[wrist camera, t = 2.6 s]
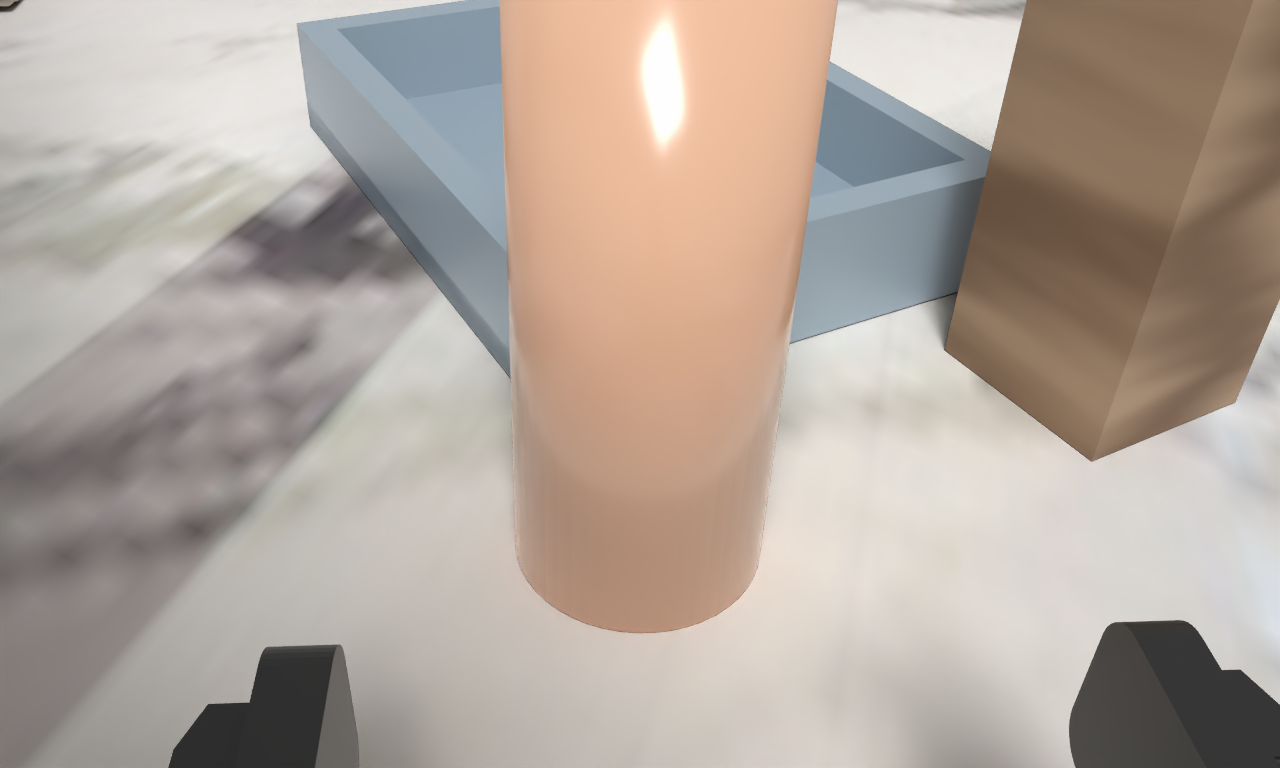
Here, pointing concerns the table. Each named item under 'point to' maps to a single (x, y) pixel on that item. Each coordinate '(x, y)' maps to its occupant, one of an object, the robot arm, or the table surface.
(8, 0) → the condiment
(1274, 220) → the walnut block
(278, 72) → the table surface
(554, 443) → the terracotta jar
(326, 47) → the tote
